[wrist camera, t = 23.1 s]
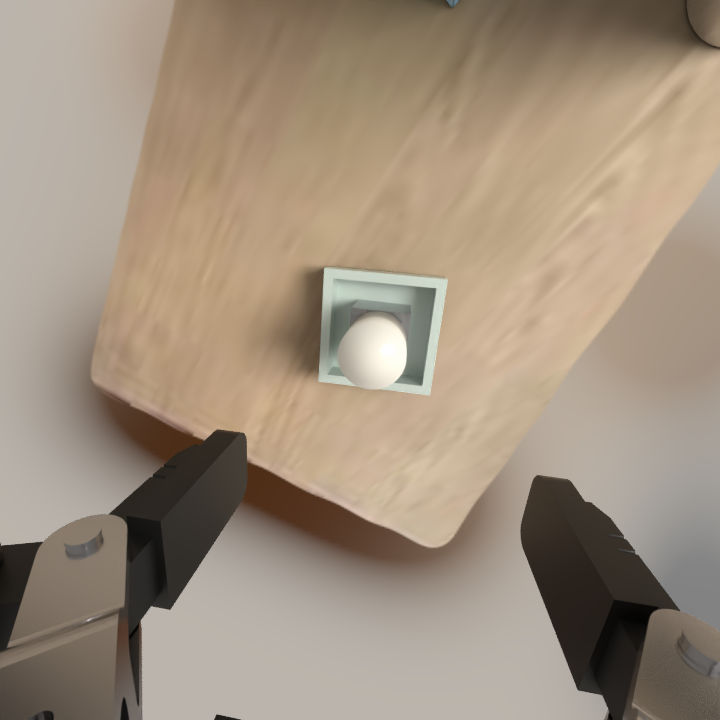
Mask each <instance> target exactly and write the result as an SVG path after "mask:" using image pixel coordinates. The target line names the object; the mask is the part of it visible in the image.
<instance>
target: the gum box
mask: <svg viewBox="0 0 720 720" xmlns="http://www.w3.org/2000/svg"><path fill="white" fill-rule="evenodd" d="M446 1H447V2H448V3H449V5H450V6H451V7H452V8H453V7H454V6H455V5H456V4H457V3H458V2H459V0H446Z"/></svg>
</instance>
